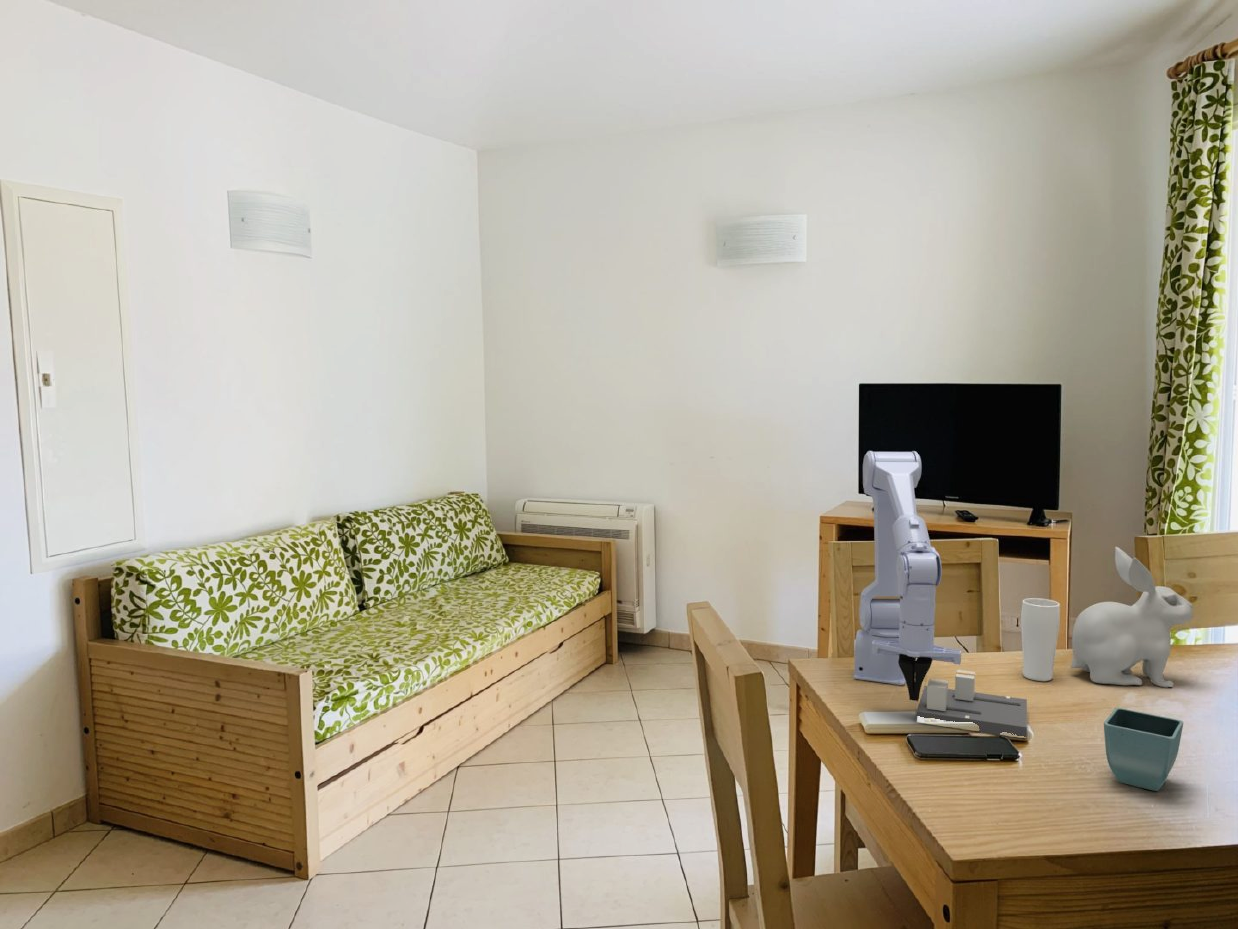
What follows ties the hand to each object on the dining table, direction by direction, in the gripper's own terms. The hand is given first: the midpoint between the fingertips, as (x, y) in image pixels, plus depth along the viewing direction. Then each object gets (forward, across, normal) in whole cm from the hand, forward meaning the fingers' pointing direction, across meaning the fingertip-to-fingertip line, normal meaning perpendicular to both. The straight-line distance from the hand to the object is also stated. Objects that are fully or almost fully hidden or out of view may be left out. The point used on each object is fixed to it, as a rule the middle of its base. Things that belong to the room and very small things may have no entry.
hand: (914, 698), depth 156 cm
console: (+3, +9, +4) cm, 10 cm away
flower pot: (+3, +33, -13) cm, 36 cm away
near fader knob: (+1, +4, 0) cm, 4 cm away
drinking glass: (+3, +20, +31) cm, 36 cm away
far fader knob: (+1, +8, +7) cm, 10 cm away
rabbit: (+3, +36, +37) cm, 51 cm away
